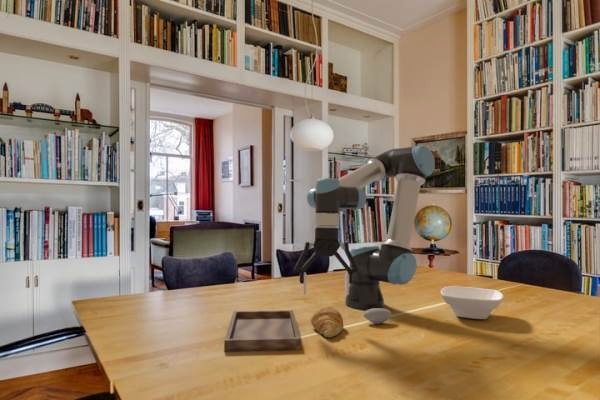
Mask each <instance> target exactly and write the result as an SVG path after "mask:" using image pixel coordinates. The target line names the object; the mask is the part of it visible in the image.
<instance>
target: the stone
mask: <svg viewBox="0 0 600 400" xmlns="http://www.w3.org/2000/svg"><path fill="white" fill-rule="evenodd" d="M362 315H363V317H364V319H366V320H368V321H369V322H370V323H372V324H376V325H381V324H383V323H385V322H387V321H389V319H390V318H391V317H392V312H391V310H389V309H387V308H382V307H381V308H373V309H366V310H365V311H364V312H363V313H362Z"/></svg>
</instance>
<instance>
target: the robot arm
mask: <svg viewBox="0 0 600 400" xmlns="http://www.w3.org/2000/svg"><path fill="white" fill-rule="evenodd" d="M435 163H436V162H435V159H434V155H433V153H432V151H431V150H430V149H429V147H427V146H425V145H413V146H408V147H399V148H392V149H389V150H387V151H383V152H381V153H380V154H378V155H376V156H374V157H372V158H370V159H368V161H367V162H366V163H365V164H364V165H362V166H360V167H357V169H356V168H355V170H353V171H351V172H349V173H346V174H345V175H343V176H340V177H339V178H333V177H332V178H331V177H329V178H327V177H326V178H324V177H323V178H319V179H317V180H316V184H315V188H312V189H310V190H309V191H308V193H307V195H306V200H307V203H308V205H309V207H311V208H313V209H315V221H314V225H315V226H316V227H315V228H314V241H313V242H309V241H305V242H304V249H303V250H302V252H301V254H300V256H299V258H298V260H297V261H296V264H295V265H294V267H293V270H294V271H295V272H297V273H299V283H300V284H302V294H303V295H304V296H306V295H307V272H306V271H307V270H308V268H309V267H310V266H312V264H313V263H314V262H315V260H316V259H317V258H318V257H319V256H320V257H333V256H334V257H335V258H336V259H337V260H338V262H339V263H340V265H342V267H343V268H344V269H345V271H346V272H345V273H344V294H345V298H344V299H345V301H344V302H345V305H346V306H347V307H350V308H354V309H361V310H369V309H373V308H381V309H382V308H383V307H384V306H385V299H384V296H383V292H382V290H381V286H380V282H384V283H387V284H392V285H400V286H402V285H406V284H408V283H410V282H411V281H412V280H413V278H414V276H415V274H416V272H417V268H418V264H417V259H416V257H415V256H414V255H413V249H412V248H411V246H410V243H411V237H412V234H413V227H414V222H415V217H416V216H415V215H416V211H417V206H418V199H419V195H420V190H421V189H420V188H421V186H423V184H425V183H426V180H427V177H429V176H430V175H432V174H433V173H434V171H435V166H436V165H435ZM389 178H394V179H395V180H396V182H397V186H396V190H395V195H394V201H393V205H392V210H391V216H390V219H389V224H388V225H389V226H388V230H387V235H386V240H385V241H384V242H382V243H381V245H380V246H379V245H370V246H357V247H352V248H351V249H349V248H350V246H349V243H348V242H347V241H344V242H339V234H340V233H339V230H340V229H339V227H338V226H339V225H340V224H339V223H340V220H339V219H340V210H359V209H362V208H363V207H364V206H365V205H366V203H367V194H366V191H365V190H364V188H365V187H367V186H369V185H370V184H372V183H374V182H380V181H382V180H384V179H389ZM312 247H313V248H314V250H315V251H314V252H313V253H312V255H311V256H310V257H309V259H308V260H306V262H305V263H303V262H304V261H305V258H306V257H307V254H308V253H309V251H310V250H311V249H312ZM340 247H341V249H342V250H343V251H344V253H345V256H346V258H347V260H348V262H349V265H348V264H347V262H346V261H345V260H344V258H343V257H342V256H341V254H339V252H338V250H339V249H340ZM302 264H303V265H302Z"/></svg>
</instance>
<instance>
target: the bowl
mask: <svg viewBox="0 0 600 400" xmlns="http://www.w3.org/2000/svg"><path fill="white" fill-rule="evenodd" d="M440 295H441V297H442V299H443V301H444V303H446V304H447V305H449V306H450V309H452V312H453V313H454V315H455V316H456V317H460V318H466V319H474V320H487V319H488V317H489V316H490V315H491V314H492V312H493V310H495V309H498V308H499V306H500V304H501V303H502V302H503V300H504V295H503V293H502V292H501V291H499V290H496V289H490V288H481V287H473V286H472V287H469V286H458V285H457V286H455V285H454V286H452V285H448V286H444V287H443V288H441V290H440Z"/></svg>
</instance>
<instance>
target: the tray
mask: <svg viewBox="0 0 600 400" xmlns="http://www.w3.org/2000/svg"><path fill="white" fill-rule="evenodd" d="M299 331H300V330H299V327H298V324H297V320H296V317H295V312H294V310H293V309H291V310H290V309H288V310H287V309H285V310H284V309H283V310H281V309H280V310H279V309H278V310H236V311H235V310H234V311H232V314H231V317H230V321H229V324H228V327H227V331H226V334H225V338H224V347H223V352H225V353H226V352H227V353H229V352H265V351H266V352H268V351H271V352H272V351H273V352H274V351H301V346H302V345H301V340H302V339H301V335H300V332H299Z"/></svg>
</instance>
